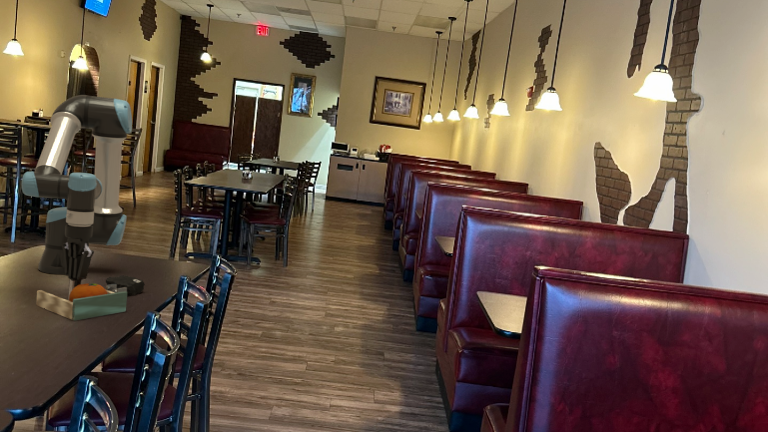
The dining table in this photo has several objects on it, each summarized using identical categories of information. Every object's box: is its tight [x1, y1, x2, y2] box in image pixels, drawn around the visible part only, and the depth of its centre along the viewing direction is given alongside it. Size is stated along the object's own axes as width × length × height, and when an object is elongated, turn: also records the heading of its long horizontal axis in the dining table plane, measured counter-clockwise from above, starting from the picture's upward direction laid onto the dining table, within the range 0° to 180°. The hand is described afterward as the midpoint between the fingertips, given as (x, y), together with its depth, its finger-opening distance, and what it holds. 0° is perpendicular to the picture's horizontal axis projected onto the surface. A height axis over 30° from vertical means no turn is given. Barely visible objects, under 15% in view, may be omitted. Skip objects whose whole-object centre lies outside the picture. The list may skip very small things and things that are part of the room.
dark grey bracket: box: [105, 284, 127, 293], centre depth 205 cm, size 6×4×6 cm, turn 58°
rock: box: [105, 274, 146, 296], centre depth 219 cm, size 9×10×6 cm
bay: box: [35, 288, 128, 322], centre depth 196 cm, size 19×17×6 cm
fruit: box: [68, 282, 108, 302], centre depth 194 cm, size 11×10×8 cm
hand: (73, 300), depth 198 cm, fingers closed
